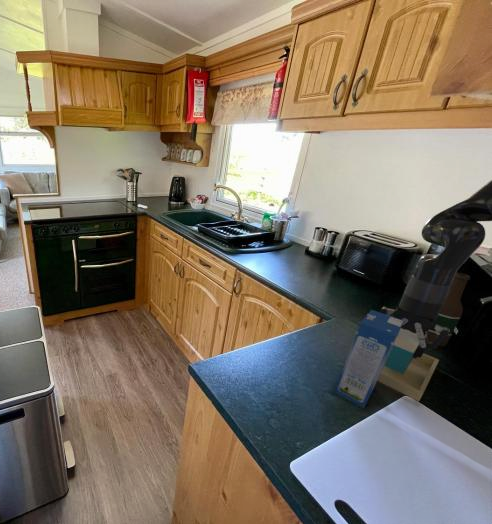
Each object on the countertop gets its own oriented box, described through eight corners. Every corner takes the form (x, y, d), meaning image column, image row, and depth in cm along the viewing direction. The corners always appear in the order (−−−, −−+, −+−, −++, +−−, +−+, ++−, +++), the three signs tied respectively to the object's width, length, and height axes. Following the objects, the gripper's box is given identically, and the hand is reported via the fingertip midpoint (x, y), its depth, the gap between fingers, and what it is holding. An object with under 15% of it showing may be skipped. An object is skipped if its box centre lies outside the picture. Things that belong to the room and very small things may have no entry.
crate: (434, 369, 82) (439, 359, 81) (417, 404, 69) (423, 393, 68) (369, 341, 93) (373, 332, 92) (344, 366, 81) (348, 357, 79)
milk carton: (345, 374, 78) (371, 309, 70) (373, 388, 73) (404, 320, 66) (333, 392, 71) (360, 322, 64) (363, 408, 67) (396, 335, 60)
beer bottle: (451, 350, 92) (488, 281, 83) (421, 343, 94) (454, 276, 85) (437, 336, 98) (469, 272, 90) (409, 331, 101) (439, 267, 92)
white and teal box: (414, 357, 81) (424, 334, 79) (403, 374, 74) (414, 350, 72) (388, 346, 86) (398, 325, 83) (376, 362, 78) (386, 339, 76)
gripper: (466, 303, 70) (437, 360, 76) (392, 282, 80) (372, 333, 86) (462, 312, 66) (432, 371, 71) (384, 288, 76) (364, 342, 82)
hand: (399, 350), depth 79 cm, fingers closed on white and teal box, 6 cm apart
